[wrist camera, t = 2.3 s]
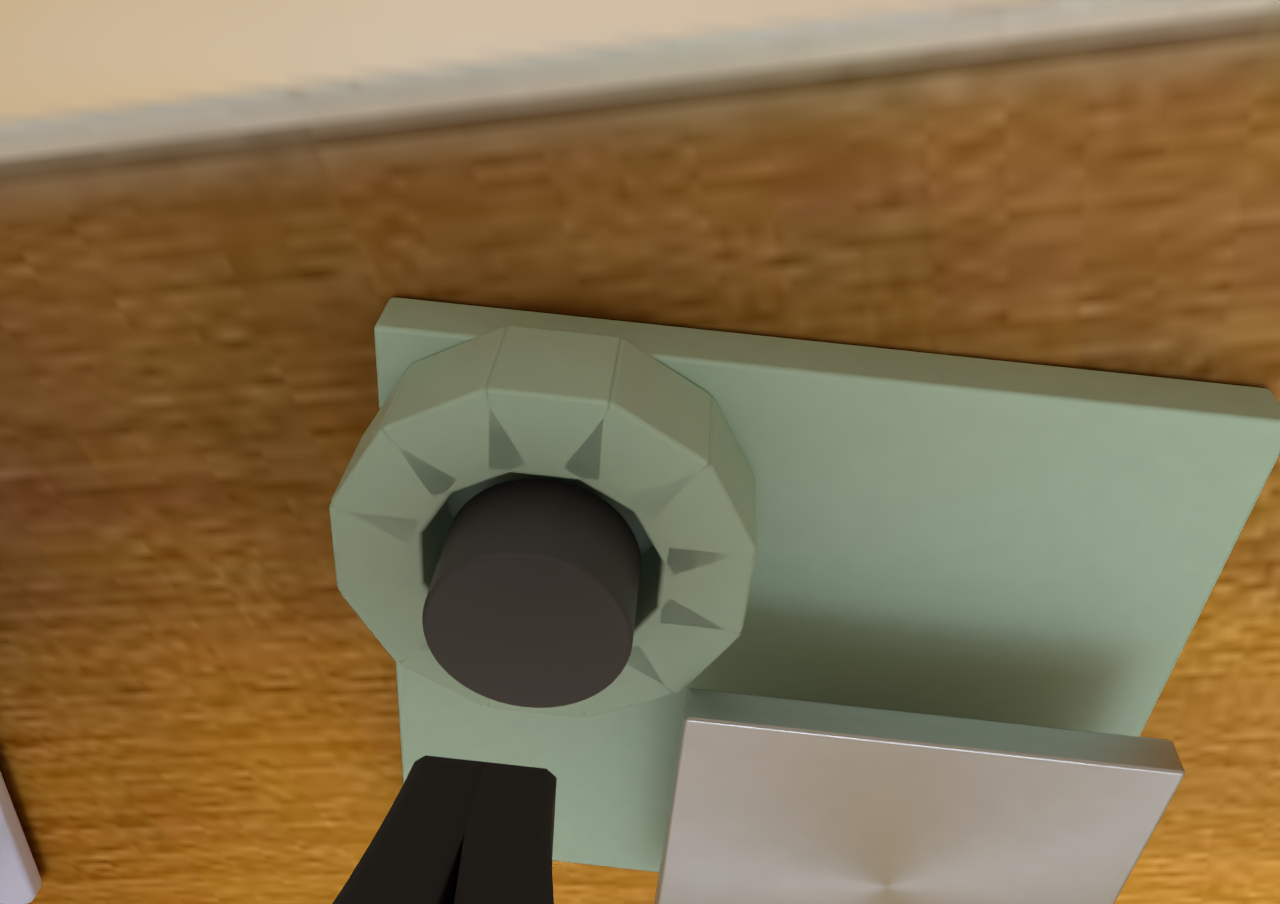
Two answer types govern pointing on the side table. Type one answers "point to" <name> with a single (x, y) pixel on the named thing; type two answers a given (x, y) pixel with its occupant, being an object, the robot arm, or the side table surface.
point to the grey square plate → (902, 807)
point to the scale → (796, 532)
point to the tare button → (534, 594)
